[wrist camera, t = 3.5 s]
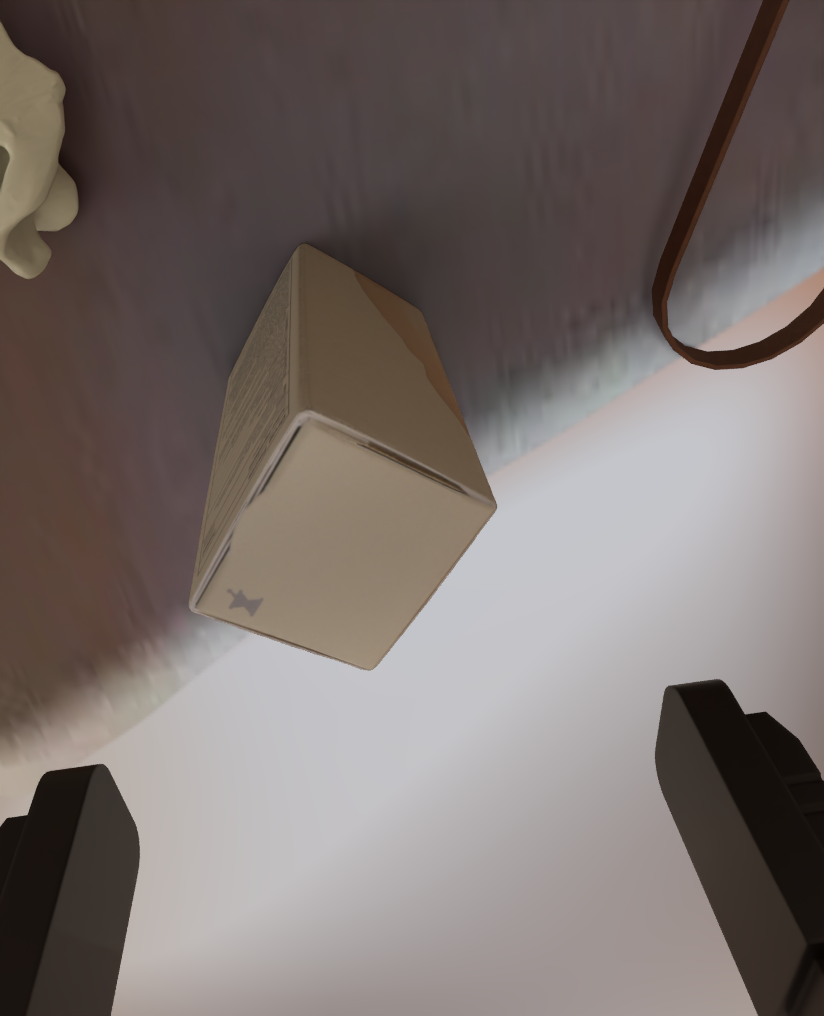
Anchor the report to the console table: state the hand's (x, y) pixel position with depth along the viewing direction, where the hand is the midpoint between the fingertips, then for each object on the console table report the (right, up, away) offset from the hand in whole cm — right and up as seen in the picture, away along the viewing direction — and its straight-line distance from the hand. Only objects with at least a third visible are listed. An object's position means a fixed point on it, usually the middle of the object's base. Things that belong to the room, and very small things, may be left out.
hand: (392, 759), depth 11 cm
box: (-2, +9, +13) cm, 16 cm away
